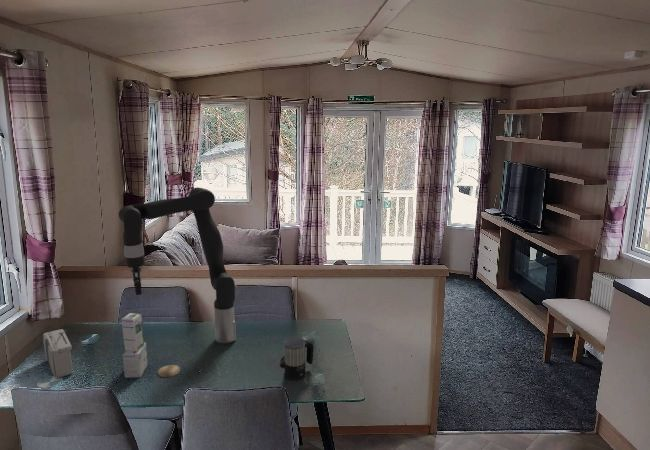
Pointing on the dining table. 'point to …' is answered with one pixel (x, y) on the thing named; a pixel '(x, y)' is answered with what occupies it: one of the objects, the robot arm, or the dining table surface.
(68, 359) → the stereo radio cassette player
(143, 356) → the light bulb box
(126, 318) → the syrup box
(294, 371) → the milk frother
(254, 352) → the dining table surface
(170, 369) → the cork coaster
